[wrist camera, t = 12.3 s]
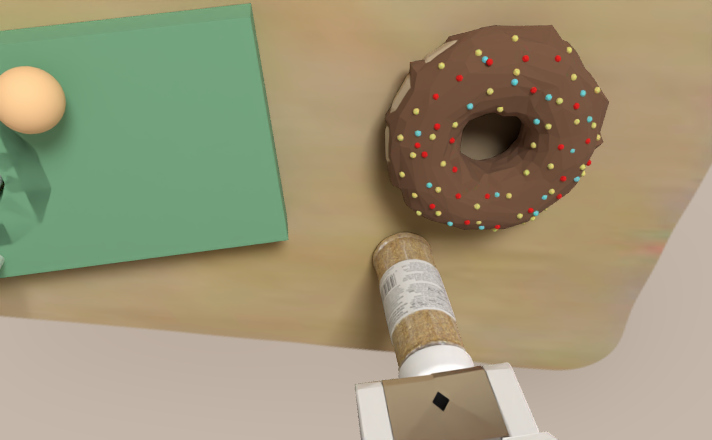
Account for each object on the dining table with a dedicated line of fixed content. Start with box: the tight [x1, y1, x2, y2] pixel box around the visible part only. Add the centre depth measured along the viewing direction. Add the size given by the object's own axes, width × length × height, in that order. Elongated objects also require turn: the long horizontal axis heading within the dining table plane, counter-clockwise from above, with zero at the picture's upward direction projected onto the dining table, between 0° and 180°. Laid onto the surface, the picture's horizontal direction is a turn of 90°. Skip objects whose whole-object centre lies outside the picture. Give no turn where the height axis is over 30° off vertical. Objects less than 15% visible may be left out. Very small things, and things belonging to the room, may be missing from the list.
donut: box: [385, 25, 609, 232], centre depth 40 cm, size 14×14×5 cm
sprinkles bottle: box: [373, 232, 474, 378], centre depth 42 cm, size 5×5×13 cm
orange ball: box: [0, 66, 66, 134], centre depth 33 cm, size 4×4×4 cm
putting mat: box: [0, 3, 288, 278], centre depth 35 cm, size 17×24×14 cm
